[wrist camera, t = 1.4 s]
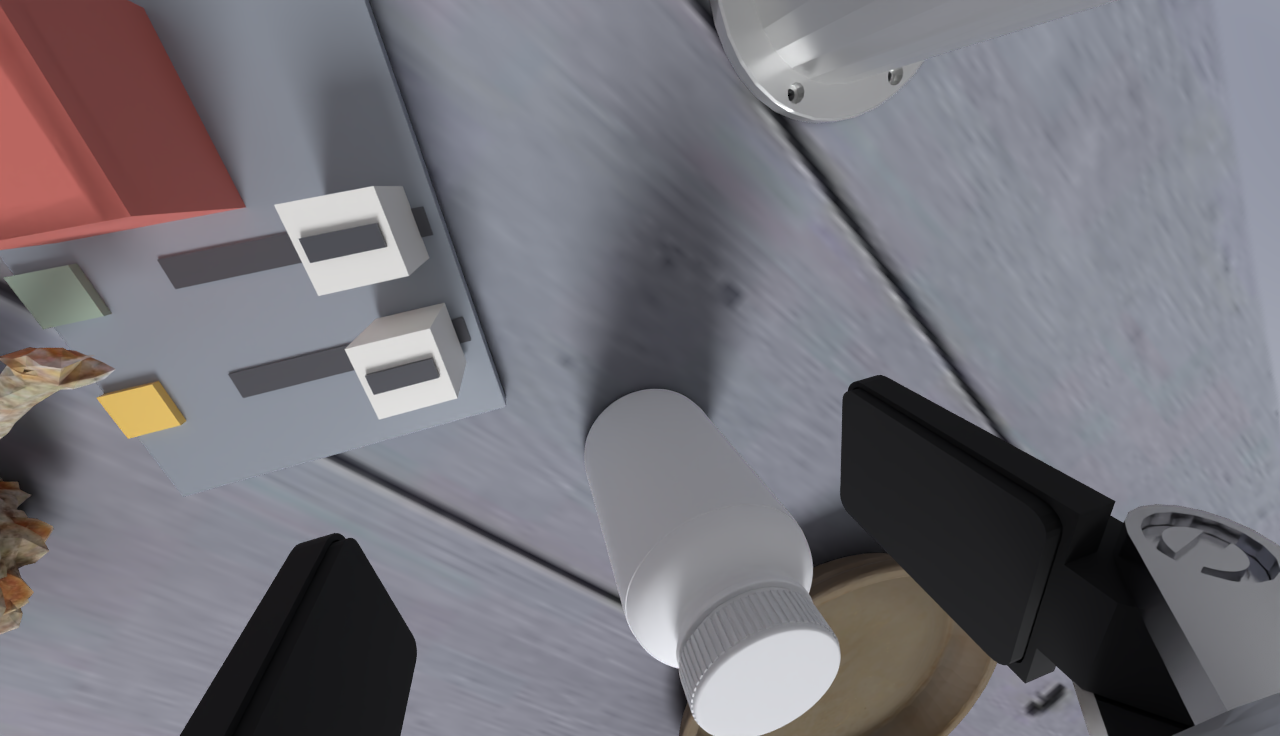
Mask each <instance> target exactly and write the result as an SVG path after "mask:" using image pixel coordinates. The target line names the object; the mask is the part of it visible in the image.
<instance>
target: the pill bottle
mask: <svg viewBox="0 0 1280 736" xmlns="http://www.w3.org/2000/svg"><path fill="white" fill-rule="evenodd" d="M584 460H585V469H586V473H587V477H588V481H589V485H590V488H591V492H592V496H593V499H594V503H595V507H596V510H597V514H598V518H599V521H600V525H601V529H602V533H603V536H604V540H605V544H606V547H607V551H608V555H609V558H610V562H611V566H612V569H613V573H614V577H615V581H616V584H617V588H618V592H619V595H620V599H621V603H622V606H623V610H624V613H625V617H626V620H627V622H628V625H629V627H630V629H631V631H632V633H633V634H634V636H635V637H636V639H637V640H638V642H639V643H640V644H641V645H642V647H643V648H644V649H645V650H646V651H647V652H648V653H649V654H650V655H652V656H653V657H654V658H656V659H657V660H659V661H660V662H662V663H664V664H667V665H669V666H672V667H675V668H679V676H680V679H681V683H682V686H683V689H684V692H685V695H686V698H687V701H688V704H689V707H690V710H691V713H692V715H693V717H694V720H695V721H696V722H697V724H698V725H700V727H701V728H703V729H704V730H705V731H706V732H708V733H709V734H711V735H713V736H759V735H763V734H766V733H769V732H771V731H774V730H776V729H778V728H780V727H782V726H784V725H786V724H788V723H790V722H792V721H793V720H795V719H796V718H798V717H799V716H801V715H802V714H803V713H805V712H806V711H807V710H809V709H810V708H811V707H812V706H813V705H814V704H815V703H816V702H817V701H818V700H819V699H820V698H821V697H822V696H823V695H824V694H825V692H826V691H827V690H828V688H829V687H830V686H831V684H832V682H833V681H834V679H835V677H836V674H837V672H838V669H839V665H840V658H841V654H840V646H839V641H838V639H837V637H836V635H835V634H834V632H833V631H832V629H831V628H830V626H829V625H828V623H827V622H826V621H825V619H824V618H823V616H822V615H821V614H820V612H819V611H818V609H817V608H816V606H815V605H814V604H813V601H812V598H811V596H810V595H809V591H810V588H811V583H812V577H813V562H812V556H811V551H810V548H809V545H808V542H807V540H806V537H805V535H804V533H803V531H802V529H801V527H800V526H799V524H798V523H797V522H796V520H795V519H794V518H793V517H792V515H791V514H790V513H789V512H788V511H787V509H786V508H785V507H784V506H783V505H782V504H781V502H780V501H779V500H778V499H777V498H776V496H775V495H774V494H773V493H772V492H771V491H770V489H769V488H768V487H767V486H766V485H765V484H764V482H763V481H762V480H761V479H760V478H759V476H758V475H757V474H756V473H755V472H754V471H753V469H752V468H751V467H750V466H749V465H748V464H747V462H746V461H745V460H744V459H743V458H742V456H741V455H740V454H739V453H738V452H737V451H736V449H735V448H734V447H733V446H732V445H731V443H730V442H729V441H728V440H727V439H726V438H725V436H724V435H723V434H722V433H721V432H720V431H719V429H718V428H717V427H716V426H715V425H714V423H713V422H712V421H711V420H710V419H709V418H708V416H707V415H706V414H705V413H704V412H703V411H702V409H701V408H700V407H699V406H698V405H696V404H695V403H694V402H693V401H691V400H690V399H689V398H687V397H686V396H684V395H682V394H680V393H677V392H674V391H671V390H666V389H645V390H640V391H636V392H633V393H630V394H628V395H625V396H623V397H621V398H620V399H618V400H616V401H615V402H613V403H612V404H611V405H609V406H608V407H607V408H606V409H605V410H604V411H603V412H602V413H601V414H600V415H599V416H598V418H597V419H596V420H595V422H594V424H593V425H592V427H591V429H590V431H589V434H588V436H587V439H586V444H585V450H584Z"/></svg>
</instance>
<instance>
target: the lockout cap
mask: <svg viewBox="0 0 1280 736" xmlns="http://www.w3.org/2000/svg"><path fill="white" fill-rule="evenodd" d="M240 208H246V206H245V204H244V202H243V200H242V198H241V196H240V194H239V192H238V190H237V189H236V187H235V185H234V183H233V181H232V179H231V177H230V175H229V173H228V171H227V169H226V167H225V165H224V163H223V161H222V159H221V157H220V156H219V154H218V152H217V150H216V148H215V146H214V144H213V142H212V140H211V138H210V136H209V134H208V132H207V130H206V128H205V126H204V124H203V122H202V121H201V119H200V117H199V115H198V113H197V111H196V109H195V107H194V105H193V103H192V101H191V99H190V97H189V95H188V93H187V91H186V89H185V88H184V86H183V84H182V82H181V80H180V78H179V76H178V74H177V72H176V70H175V68H174V66H173V64H172V62H171V60H170V58H169V56H168V54H167V53H166V51H165V49H164V47H163V45H162V43H161V41H160V39H159V37H158V35H157V33H156V31H155V29H154V27H153V25H152V23H151V21H150V20H149V18H148V16H147V14H146V12H145V10H144V8H143V7H141V6H139V5H137V4H135V3H133V2H131V1H128V0H0V250H5V249H13V248H21V247H29V246H37V245H45V244H53V243H59V242H65V241H70V240H75V239H81V238H86V237H91V236H97V235H102V234H107V233H113V232H118V231H123V230H129V229H134V228H139V227H145V226H150V225H155V224H160V223H166V222H171V221H176V220H182V219H187V218H192V217H198V216H203V215H208V214H214V213H219V212H224V211H230V210H235V209H240Z"/></svg>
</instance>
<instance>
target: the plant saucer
mask: <svg viewBox="0 0 1280 736" xmlns="http://www.w3.org/2000/svg"><path fill="white" fill-rule="evenodd" d="M809 595H810V596H811V598H812V601H813V604H814V605H815V606H816V608H817V609H818V611H819V612H820V614H821V615H822V616H823V618H824V619H825V621H826V622H827V623H828V625H829V626H830V628H831V629H832V631H833V632H834V634H835V635H836V637H837V639H838V641H839V646H840V654H841V658H840V665H839V669H838V672H837V674H836V677H835V679H834V681H833V682H832V684H831V686H830V687H829V688H828V690H827V691H826V692H825V694H824V695H823V696H822V697H821V698H820V699H819V700H818V701H817V702H816V703H815V704H814V705H813V706H812V707H811V708H810V709H809V710H807V711H806V712H805V713H803V714H802V715H801V716H799V717H798V718H796V719H795V720H793V721H792V722H790V723H788V724H786V725H784V726H782V727H780V728H778V729H776V730H774V731H771V732H769V733H766V734H763V735H759V736H948V735H949V733H950V732H951V731H952V730H953V729H954V728H955V727H956V726H957V725H958V724H959V723H960V722H961V721H962V719H963V718H964V717H965V716H966V715H967V714H968V712H969V711H970V709H971V708H972V707H973V705H974V704H975V702H976V701H977V699H978V698H979V697H980V695H981V693H982V692H983V690H984V689H985V687H986V685H987V684H988V682H989V679H990V677H991V675H992V673H993V671H994V669H995V667H996V664H997V662H996V661H994V660H993V659H992V658H991V657H989V656H988V655H987V654H986V653H985V652H984V651H983V650H982V649H981V648H980V647H979V646H978V645H977V644H976V643H975V642H974V641H973V640H972V639H971V638H970V637H969V636H968V634H967V633H966V632H965V631H964V630H963V629H962V628H961V627H960V626H959V625H958V624H957V623H956V622H955V621H954V620H953V619H952V618H951V617H950V616H949V615H948V614H947V613H946V612H945V611H944V610H943V609H942V608H941V607H940V606H939V605H938V604H937V603H936V602H935V601H934V600H933V599H932V598H931V597H930V596H929V595H928V594H927V593H926V592H925V591H924V590H923V589H922V588H921V587H920V586H919V585H918V584H917V583H916V582H915V581H914V579H913V578H912V577H911V576H910V575H909V574H908V573H907V572H906V571H905V570H904V569H903V568H902V567H901V566H900V565H899V564H898V563H897V562H896V561H895V560H894V559H893V558H892V557H891V556H890V555H889V554H888V553H865V554H859V555H853V556H848V557H844V558H840V559H836V560H833V561H830V562H827V563H824V564H821V565H818V566H816V567H814V568H813V577H812V583H811V588H810V591H809ZM679 736H713V735H711V734H709V733H708V732H706V731H705V730H704V729H703V728H701V727H700V725H698V724H697V722H696V721H695V720H694V717H693V715H692V713H691V710H690V707H689V704H688V702H687V705H686V708H685V711H684V714H683V717H682V721H681V726H680V732H679Z"/></svg>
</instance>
